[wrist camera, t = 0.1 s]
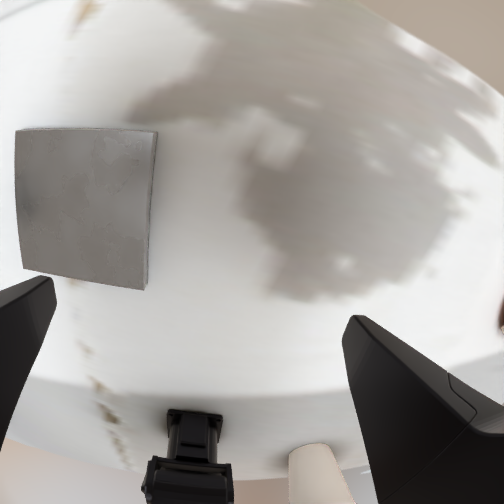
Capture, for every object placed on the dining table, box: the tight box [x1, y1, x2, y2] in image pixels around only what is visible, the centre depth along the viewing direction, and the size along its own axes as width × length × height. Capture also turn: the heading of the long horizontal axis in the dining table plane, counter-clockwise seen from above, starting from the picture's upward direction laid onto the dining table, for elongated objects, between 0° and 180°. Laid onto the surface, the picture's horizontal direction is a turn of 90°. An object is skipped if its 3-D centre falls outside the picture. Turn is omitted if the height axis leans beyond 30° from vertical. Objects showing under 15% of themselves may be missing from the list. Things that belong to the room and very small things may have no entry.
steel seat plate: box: [15, 128, 157, 290], centre depth 21 cm, size 12×12×1 cm
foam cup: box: [289, 443, 357, 504], centre depth 32 cm, size 10×9×13 cm
